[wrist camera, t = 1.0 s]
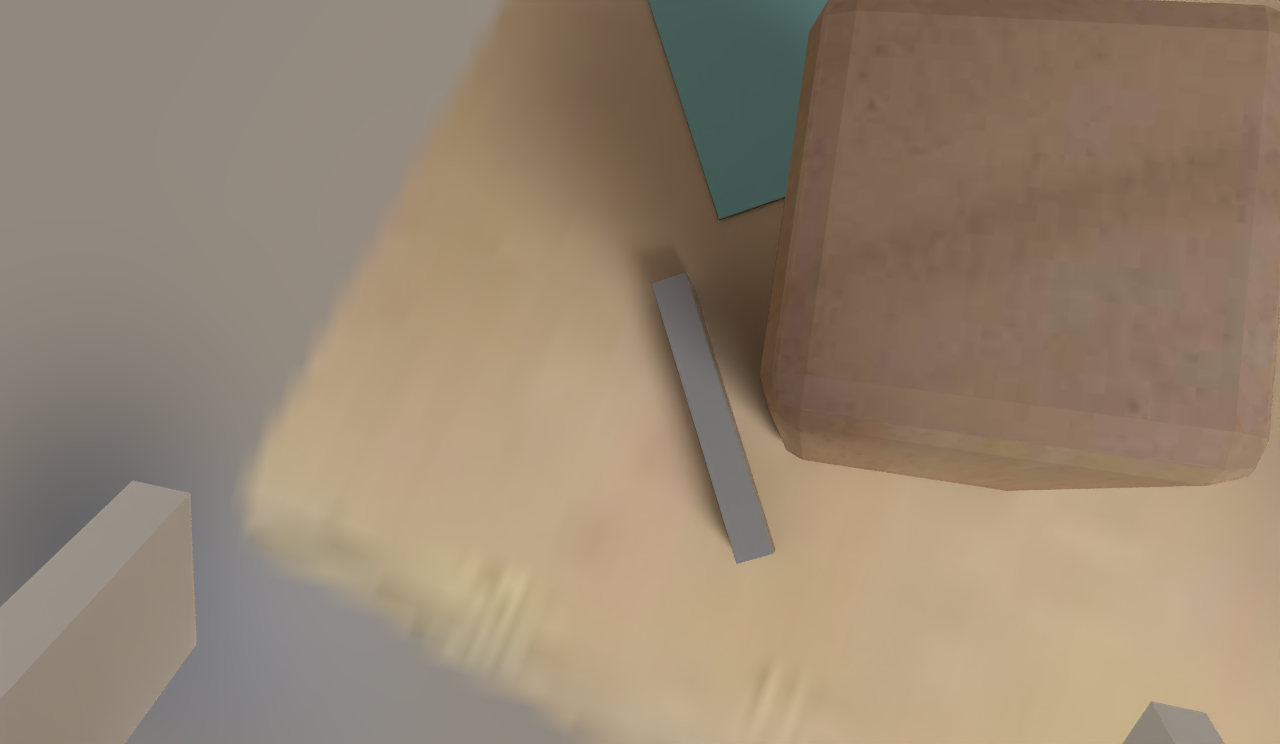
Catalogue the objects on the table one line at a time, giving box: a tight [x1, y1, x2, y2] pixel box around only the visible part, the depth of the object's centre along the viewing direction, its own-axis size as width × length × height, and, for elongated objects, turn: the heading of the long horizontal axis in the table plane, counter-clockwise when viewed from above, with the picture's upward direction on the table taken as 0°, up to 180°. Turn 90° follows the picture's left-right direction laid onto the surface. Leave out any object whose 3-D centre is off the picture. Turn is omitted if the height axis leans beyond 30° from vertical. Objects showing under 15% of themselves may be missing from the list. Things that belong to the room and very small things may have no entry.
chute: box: [652, 272, 775, 564], centre depth 36 cm, size 12×19×2 cm, turn 106°
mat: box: [648, 0, 828, 220], centre depth 40 cm, size 12×12×1 cm
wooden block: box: [760, 0, 1280, 491], centre depth 28 cm, size 10×10×20 cm
